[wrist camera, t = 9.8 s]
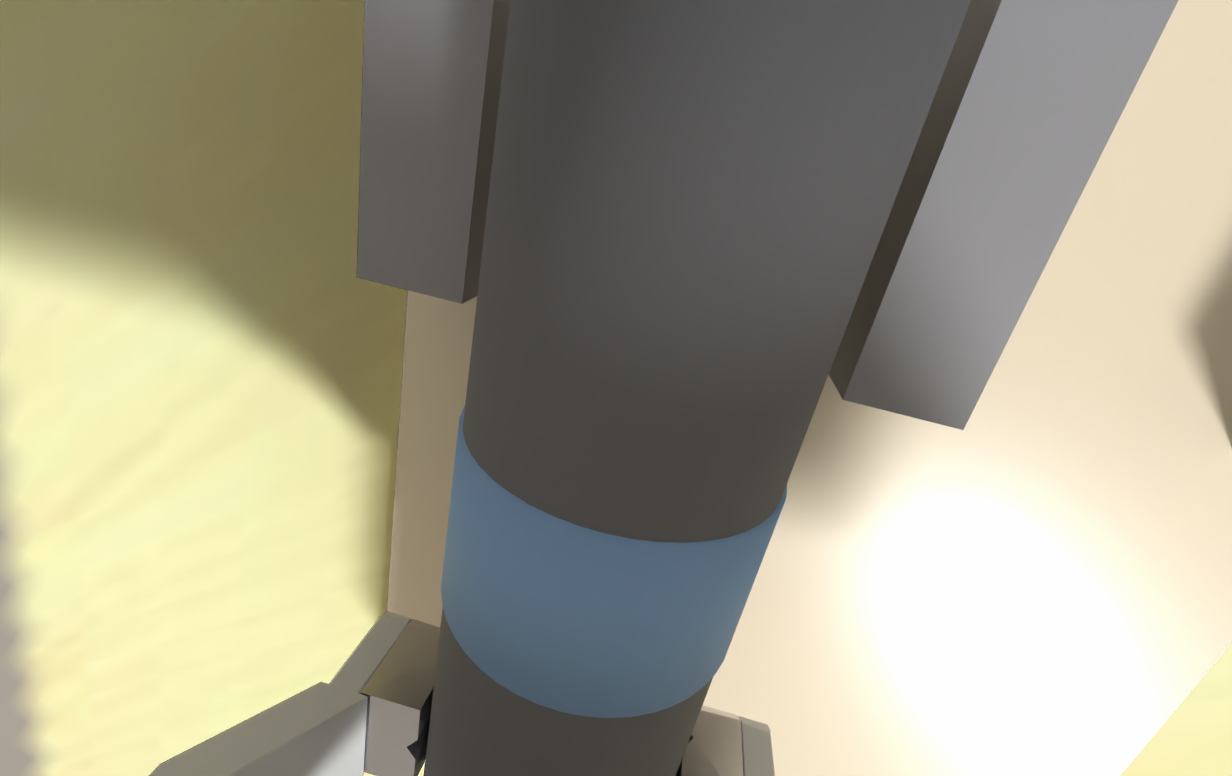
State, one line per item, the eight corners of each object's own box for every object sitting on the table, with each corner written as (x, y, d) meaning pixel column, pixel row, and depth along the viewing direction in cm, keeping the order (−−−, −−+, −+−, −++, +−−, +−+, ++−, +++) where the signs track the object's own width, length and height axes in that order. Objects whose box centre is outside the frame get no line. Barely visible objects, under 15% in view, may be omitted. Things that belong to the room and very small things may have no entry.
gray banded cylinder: (571, -43, 7) (437, -277, 3) (896, 26, 7) (1143, -136, 3) (446, 825, 14) (356, 1071, 10) (607, 869, 14) (576, 1133, 10)
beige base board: (479, -303, 8) (329, -603, 5) (1735, -94, 7) (2586, -314, 4) (396, 715, 17) (320, 845, 14) (965, 893, 15) (1031, 1084, 12)
